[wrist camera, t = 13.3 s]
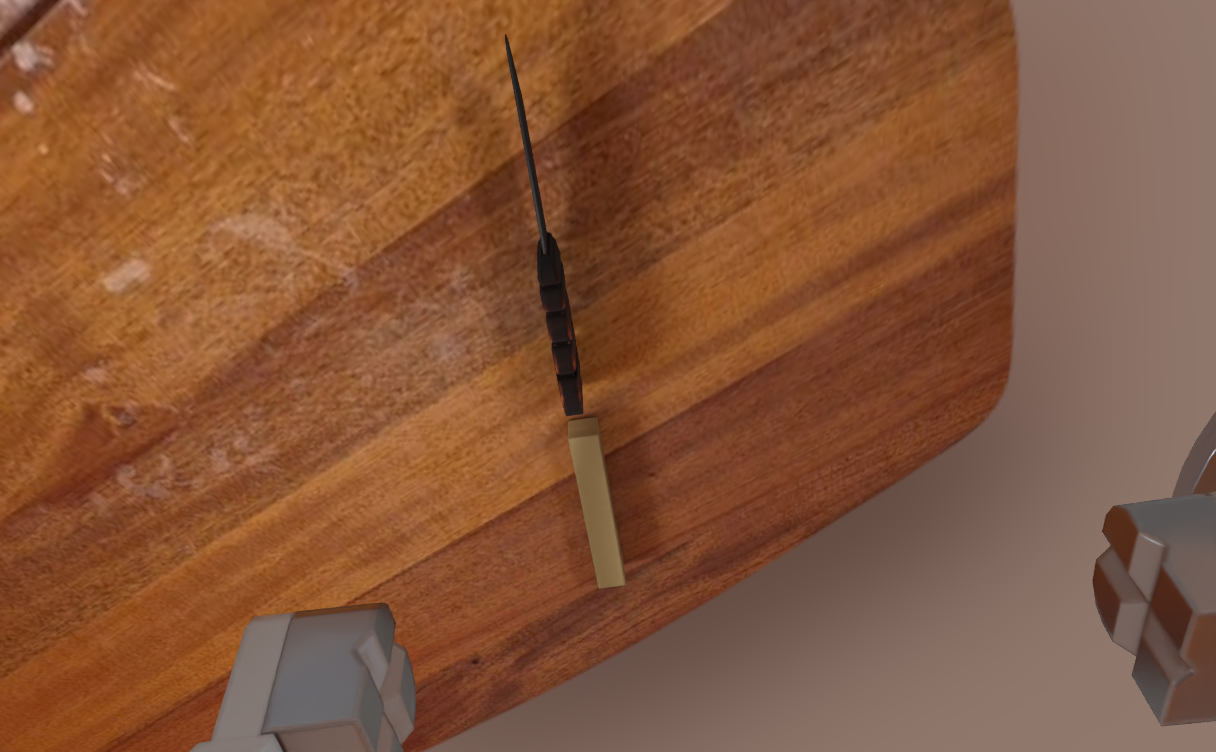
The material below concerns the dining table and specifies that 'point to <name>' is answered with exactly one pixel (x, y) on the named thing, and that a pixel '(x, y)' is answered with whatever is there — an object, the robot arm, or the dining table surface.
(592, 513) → the wooden stick
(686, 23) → the dining table surface
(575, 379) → the knife
